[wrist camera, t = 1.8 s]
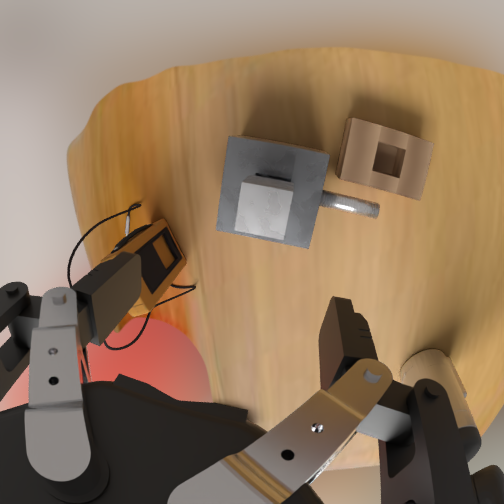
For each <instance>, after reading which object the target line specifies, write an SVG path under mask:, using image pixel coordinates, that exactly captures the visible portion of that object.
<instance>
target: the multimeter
mask: <svg viewBox="0 0 504 504" xmlns="http://www.w3.org/2000/svg"><path fill="white" fill-rule="evenodd" d="M134 206H136V207H134ZM140 206H141V204H135V205H132V206H131V207H130V208H129V209H128V210H126V211H123V212H121V213H118V214H116V215H113V216H111V217H109V218H106V219H104V220H102V221H101V222H99V223H97V224H96V225H95V226H93V227H92V228H91V229H90V230H89V231H88V232H87V233H86V234H85V235H84V236H83V237H82V238H81V239H80V241H79V242H78V243H77V245H76V247H75V248H74V250H73V252H72V254H71V257H70V259H69V264H68V272H67V273H68V274H67V276H68V281H69V285H70V288H71V287H72V284H71V280H70V265H71V262H72V258H73V256H74V254H75V251H76V250H77V248H78V246H79V245H80V243H81V242H82V241H83V240H84V238H85V237H86V236H87V235H88V234H89V233H90V232H91V231H92V230H93V229H95V228H96V227H97V226H98V225H100V224H101V223H103V222H105V221H107V220H109V219H111V218H114V217H116V216H118V215H121V214H123V213H126V212H128V216H127V219H126V231H125V234H126V237H124V238H123V239H122V240H121V241H120V242H119V243H118V244H116V246H115V248H114V250H113V251H112V252H111V253H110V254H109V255H108V256H106V257H105V258H104V259H102V260H101V263H102V262H105V261H107V260H110V259H113V258H114V257H116V256H117V255H118V254H119V253H121V252H122V251H126V252H130V253H134V254H138V255H140V257H141V284H142V288H141V294H140V297H139V299H138V300H137V302H136V303H135V304H134V305H133V306H132V308H131V309H130V310H129V311H128V312H129V314H130V315H131V316H133V317H135V316H138V315H142V314H145V313H148V315H147V318H146V321H145V323H144V326H143V328H142V330H141V331H140V333H139V334H138V336H137V337H136V338H135V339H134V340H133V341H132V342H131V343H129V344H128V345H126V346H123V347H120V348H112V347H110V346H108V345H107V343H106V341H105V340H104V344H105V346H106V347H107V348H108V349H110V350H121V349H124V348H127V347H129V346H131V345H132V344H133V343H135V342H136V341H137V340H138V339H139V337H140V336H141V334H142V332H143V331H144V329H145V327H146V324H147V322H148V319H149V316H150V314H151V311H152V309H153V308H154V307H156V306H158V305H160V304H163V303H165V302H167V301H170V300H172V299H174V298H177V297H179V296H181V295H184V294H186V293H188V292H190V291H192V290H194V289H195V288H196V286H189V287H179V286H174V285H172V283H173V281H174V280H175V278H176V277H177V276H178V274H179V273H180V272H181V270H182V269H183V268H184V266H185V265H186V259H185V257H184V255H183V254H182V252H181V250H180V248H179V246H178V244H177V242H176V240H175V238H174V237H173V235H172V233H171V231H170V229H169V227H168V223H167V222H166V220H165V219H161V220H159V221H156V222H154V223H152V224H148V225H144V226H142V227H140V228H137V229H135V230H134V231H132V232H131V233H130V234H129V221H130V216H129V214H130V211H131V210H134V209H136V208H138V207H140ZM132 207H134V208H132ZM127 234H128V235H127ZM169 286H172V287H175V288H192V289H190V290H188V291H186V292H184V293H182V294H179V295H177V296H175V297H172V298H170V299H168V300H165V301H163V302H160V303H158V304H157V302H158V301H159V300H160V298H161V297H162V296H163V294H164V293H165V292H166V290H167V289H168V288H169Z"/></svg>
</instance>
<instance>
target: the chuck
mask: <svg viewBox="0 0 504 504" xmlns="http://www.w3.org/2000/svg"><path fill="white" fill-rule="evenodd" d="M329 157H330V155H329V154H328V153H326V152H325V151H323V150H319V149H314V148H309V147H305V146H300V145H295V144H290V143H285V142H279V141H274V140H268V139H262V138H256V137H250V136H243V135H237V136H229V138H228V145H227V151H226V158H225V165H224V172H223V179H222V187H221V194H220V201H219V209H218V217H217V225H216V230H217V231H223V232H228V233H233V234H238V235H243V236H248V237H253V238H258V239H263V240H268V241H272V242H277V243H282V244H287V245H292V246H297V247H302V248H307V249H309V245H310V241H311V237H312V233H313V229H314V225H315V221H316V216H317V212H318V208H319V206H322V207H327V208H331V209H336V210H340V211H344V212H349V213H353V214H357V215H361V216H365V217H369V218H373V219H376V218H377V216H378V214H379V208H380V206H379V203H375V202H371V201H367V200H363V199H359V198H355V197H351V196H347V195H343V194H338V193H334V192H330V191H325V190H323V185H324V181H325V176H326V171H327V167H328V162H329ZM249 175H254V176H260V177H265V178H267V177H268V176H269V175H271V176H276V177H281V178H282V179H283V181H286V182H291V183H294V189H293V196H292V201H291V206H290V211H289V216H288V221H287V226H286V230H285V235H284V240H280V239H275V238H270V237H265V236H260V235H255V234H250V233H245V232H240V231H235V223H236V216H237V210H238V203H239V197H240V190H241V184H242V181H243V180H244V179H245V178H246V177H247V176H249Z"/></svg>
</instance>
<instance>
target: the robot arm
mask: <svg viewBox="0 0 504 504" xmlns="http://www.w3.org/2000/svg"><path fill="white" fill-rule="evenodd" d="M141 288H142V284H141V257H140V255H138V254H134V253H130V252H126V251H122V252H121V253H119V254H118V255H117V256H116V257H114V258H113V259H110V260H107V261H105V262H102V263H100V264H99V265H98V266H96V267H95V268H94V269H93V270H91V271H90V272H89V273H88V275H85V276H84V277H83V278H82V279H80V280H79V281H78V282H77V283H75V284H74V285H73V286H72V287H71V288H68V287H56V288H53V289H50V290H48V291H47V292H46V293H45V294H44V295H43V297H40V296H31V295H29V291H28V287H27V285H26V284H24V283H22V282H11V283H8V284H6V285H4V286H3V287H1V288H0V332H2V330H4V329H5V327H7V326H8V328H9V330H10V333H11V337H10V338H9V339H8V340H7V341H6V342H5V343H4V345H2V346H1V348H0V401H1V400H2V399H3V397H4V396H5V395H6V393H7V392H8V391H9V389H10V388H11V387H12V385H13V384H14V383H15V382H16V380H17V379H18V378H19V376H20V375H21V374H22V373H23V371H24V370H25V369H26V368H27V366H28V365H29V364H30V365H29V403H26V404H23V405H20V406H17V407H14V408H11V409H7V410H4V411H1V412H0V504H324V503H323V502H322V501H321V499H320V498H319V497H318V495H317V494H316V493H315V491H314V490H313V489H312V487H311V486H310V484H311V483H312V482H313V481H314V480H315V479H316V478H317V477H318V476H319V475H320V474H321V473H322V472H323V471H324V470H325V468H326V467H327V466H328V465H329V464H330V463H331V462H332V461H333V460H334V459H335V458H336V456H337V455H338V454H339V453H340V452H341V451H342V450H343V449H344V447H345V446H346V445H347V444H348V443H349V442H350V441H351V439H352V438H353V437H354V436H355V435H356V433H357V432H359V433H362V434H365V435H368V436H370V437H374V438H377V439H378V443H379V458H380V475H381V476H380V477H381V504H504V474H503V472H502V471H501V469H500V468H499V467H498V466H496V465H490V466H488V467H486V468H484V469H481V470H480V471H478V472H476V473H474V474H473V475H470V472H469V468H468V464H467V463H468V462H469V461H470V460H471V459H472V458H473V457H474V456H475V455H476V453H477V452H478V451H479V449H480V447H481V437H480V434H479V431H478V429H477V426H476V424H475V421H474V419H473V416H472V414H471V411H470V409H469V407H468V404H467V402H466V400H465V397H466V396H467V392H466V390H465V388H464V386H463V384H462V381H461V379H460V377H459V375H458V373H457V371H456V369H455V367H454V365H453V363H452V361H451V359H450V357H446V356H445V354H444V353H443V352H442V351H440V350H438V349H428V350H424V351H421V352H419V353H417V354H415V355H414V356H412V357H411V358H410V359H409V360H408V361H407V362H406V363H405V364H404V365H403V367H402V369H401V371H400V380H401V383H399V382H397V381H394V380H393V376H392V373H391V371H390V369H389V368H388V367H387V366H386V365H385V364H383V363H382V362H380V361H378V357H377V354H376V350H375V346H374V343H373V339H372V336H371V332H370V329H369V325H368V322H367V321H366V319H365V318H364V317H363V316H362V315H361V314H360V313H354V309H353V305H352V302H351V300H350V299H345V298H340V297H335V296H333V297H332V298H331V300H330V303H329V306H328V309H327V312H326V315H325V318H324V320H323V323H322V326H321V329H320V334H319V359H320V382H321V389H320V390H319V391H318V392H317V393H315V394H314V395H313V396H312V397H311V398H310V399H308V400H307V401H306V402H305V403H304V404H303V405H301V406H300V407H299V408H298V409H296V410H295V411H294V412H293V413H292V414H290V415H289V416H288V417H287V418H285V419H284V420H283V421H282V422H280V423H279V424H278V425H276V426H275V427H274V428H273V429H271V430H270V431H269V432H267V431H266V430H264V429H263V428H261V427H260V426H258V425H256V424H254V423H253V422H250V421H248V420H246V418H247V413H248V410H244V409H239V408H235V407H230V406H226V405H221V404H217V403H206V402H191V401H179V400H176V399H174V398H172V397H170V396H168V395H167V394H165V393H163V392H161V391H159V390H158V389H156V388H154V387H152V386H151V385H149V384H147V383H144V382H141V381H138V380H136V379H133V378H130V377H127V376H124V375H122V374H119V375H118V376H117V378H116V379H115V381H114V382H112V381H95V382H92V378H91V372H90V366H89V359H88V351H87V347H86V346H87V344H88V343H89V342H91V343H93V344H96V345H98V346H100V345H101V344H102V343H103V342H104V340H105V339H106V338H107V337H108V336H109V334H110V333H111V332H112V331H113V329H114V328H115V327H116V326H117V324H118V323H119V322H120V321H121V320H122V318H123V317H124V316H125V315H126V314H127V312H128V311H129V310H130V309H131V308H132V306H133V305H134V304H135V303H136V302H137V300H138V299H139V297H140V294H141Z"/></svg>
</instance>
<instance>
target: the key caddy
mask: <svg viewBox="0 0 504 504" xmlns="http://www.w3.org/2000/svg"><path fill="white" fill-rule="evenodd" d="M433 146H434V143H432V142H429V141H426V140H424V139H421V138H418V137H415V136H412V135H409V134H406V133H403V132H400V131H397V130H394V129H391V128H388V127H385V126H381V125H378V124H375V123H371V122H368V121H364V120H361V119H357V118H353V117H352V118H348V119H347V120H346V125H345V130H344V135H343V140H342V145H341V150H340V155H339V160H338V165H337V169H336V175H337V176H338V178H339V179H341V180H345V181H349V182H353V183H357V184H361V185H365V186H369V187H373V188H376V189H380V190H384V191H387V192H391V193H395V194H398V195H402V196H405V197H408V198H412V199H415V200H418V201H420V200H421V196H422V192H423V189H424V185H425V181H426V177H427V173H428V169H429V164H430V160H431V155H432V151H433Z"/></svg>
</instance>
